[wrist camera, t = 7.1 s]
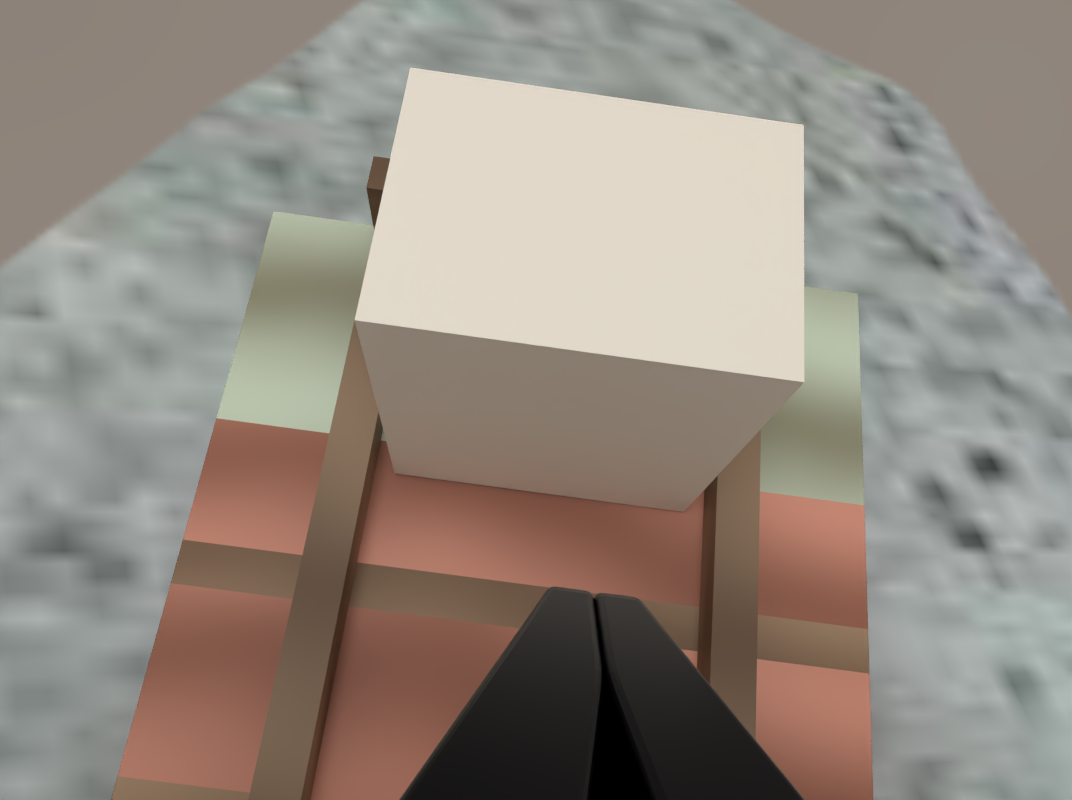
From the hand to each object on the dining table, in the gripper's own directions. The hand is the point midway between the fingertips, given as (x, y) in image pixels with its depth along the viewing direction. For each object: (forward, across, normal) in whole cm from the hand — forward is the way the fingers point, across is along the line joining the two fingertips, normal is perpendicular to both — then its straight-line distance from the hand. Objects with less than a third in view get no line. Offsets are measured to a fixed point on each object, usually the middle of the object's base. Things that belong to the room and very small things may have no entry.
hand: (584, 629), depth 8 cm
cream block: (+13, 0, +3) cm, 14 cm away
